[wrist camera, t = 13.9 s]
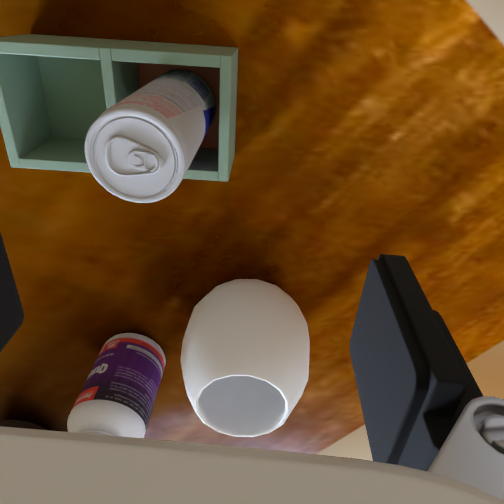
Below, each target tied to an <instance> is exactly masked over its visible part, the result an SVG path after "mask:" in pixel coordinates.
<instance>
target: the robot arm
mask: <svg viewBox="0 0 504 504" xmlns="http://www.w3.org/2000/svg"><path fill="white" fill-rule="evenodd" d="M23 318H24V312H23V308H22V305H21V302H20V298H19V295H18V291H17V288H16V284H15V281H14V278H13V274H12V271H11V267H10V264H9V260H8V257H7V254H6V250H5V247H4V243H3V240H2V236H1V234H0V352H1V350H2V349H3V348H4V347H5V345H6V344H7V343H8V341H9V340H10V339H11V338H12V336H13V335H14V334H15V333H16V331H17V330H18V329H19V327H20V326H21V324H22V322H23ZM350 355H351V359H352V364H353V369H354V373H355V378H356V383H357V387H358V392H359V397H360V402H361V406H362V411H363V416H364V420H365V425H366V430H367V435H368V439H369V444H370V448H371V453H372V458H373V461H368V460H362V459H353V458H344V457H335V456H325V455H316V454H307V453H297V452H288V451H279V450H268V449H256V448H245V447H234V446H223V445H212V444H201V443H190V442H178V441H167V440H156V439H145V438H133V437H121V436H109V435H98V434H86V433H74V432H62V431H50V430H38V429H26V428H14V427H2V426H0V504H504V399H500V398H496V397H483V395H482V393H481V391H480V389H479V387H478V385H477V383H476V381H475V380H474V378H473V376H472V374H471V372H470V370H469V368H468V366H467V364H466V362H465V360H464V359H463V357H462V355H461V353H460V351H459V349H458V347H457V345H456V343H455V342H454V340H453V338H452V336H451V334H450V332H449V330H448V328H447V326H446V324H445V323H444V321H443V319H442V317H441V315H440V314H439V313H438V312H437V311H435V310H432V308H431V306H430V304H429V302H428V300H427V298H426V296H425V294H424V292H423V290H422V289H421V287H420V285H419V283H418V281H417V279H416V277H415V275H414V273H413V271H412V269H411V267H410V265H409V263H408V261H407V259H406V258H405V256H398V255H385V254H381V255H380V256H379V257H378V260H376V259H372V260H371V262H370V264H369V268H368V272H367V276H366V280H365V284H364V288H363V292H362V296H361V299H360V303H359V307H358V311H357V315H356V319H355V323H354V327H353V331H352V335H351V339H350Z"/></svg>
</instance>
